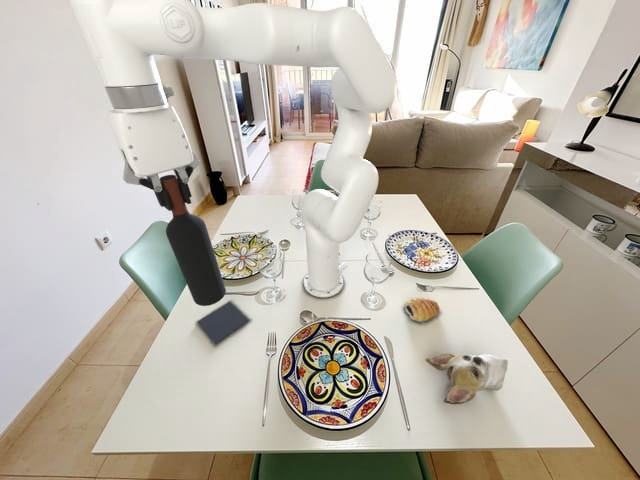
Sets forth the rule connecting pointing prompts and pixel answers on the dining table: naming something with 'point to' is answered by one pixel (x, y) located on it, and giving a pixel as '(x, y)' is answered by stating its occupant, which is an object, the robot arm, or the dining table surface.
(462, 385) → the ceramic sculpture
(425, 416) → the dining table surface
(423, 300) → the pastry
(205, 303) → the wine bottle
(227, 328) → the mat
